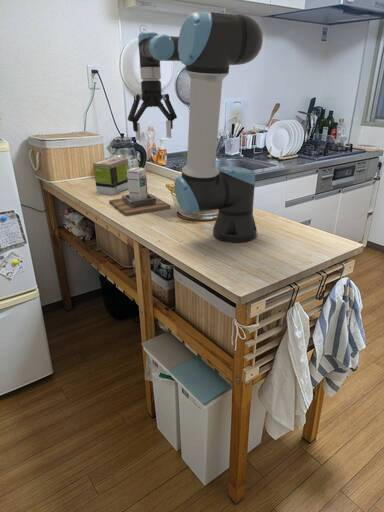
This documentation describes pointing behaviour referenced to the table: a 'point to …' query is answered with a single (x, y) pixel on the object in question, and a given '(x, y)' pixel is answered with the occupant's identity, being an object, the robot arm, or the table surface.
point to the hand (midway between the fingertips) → (154, 139)
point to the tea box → (111, 175)
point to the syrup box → (137, 184)
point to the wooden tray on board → (138, 205)
